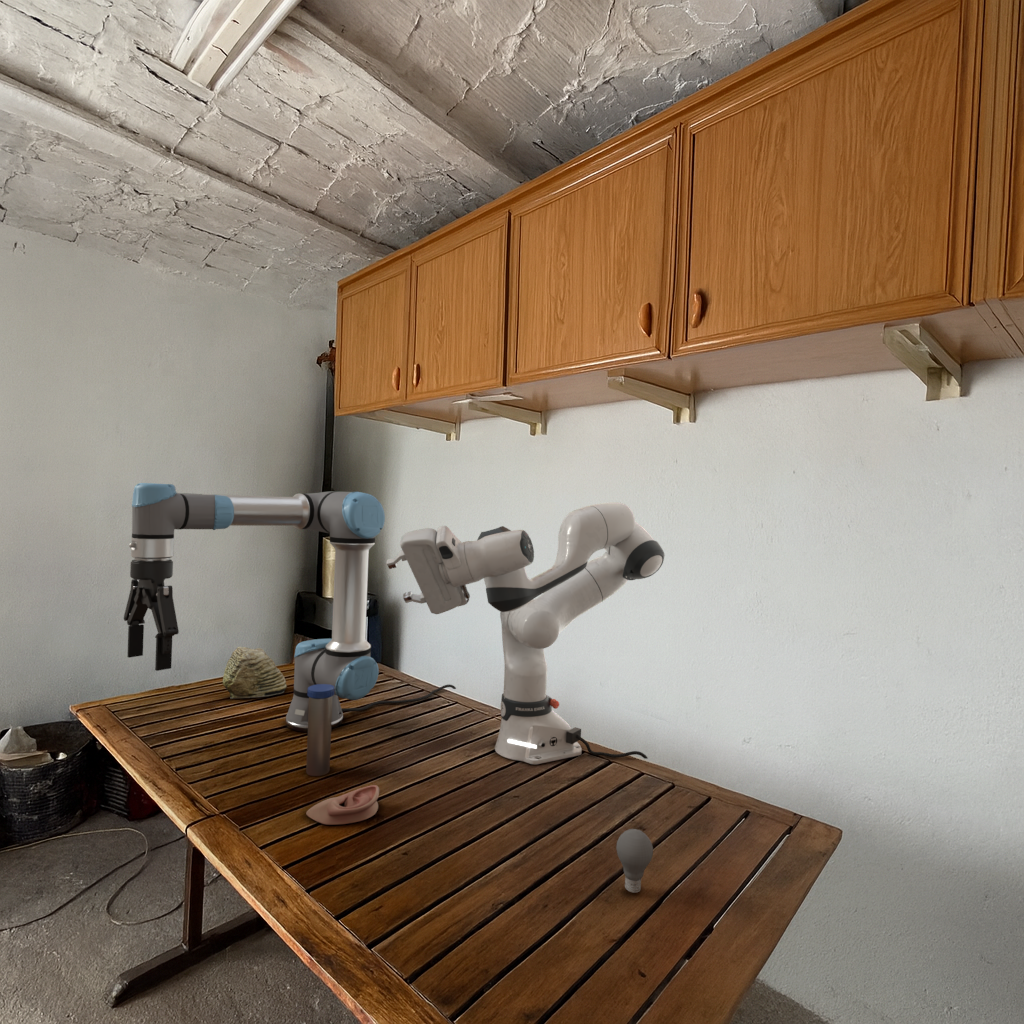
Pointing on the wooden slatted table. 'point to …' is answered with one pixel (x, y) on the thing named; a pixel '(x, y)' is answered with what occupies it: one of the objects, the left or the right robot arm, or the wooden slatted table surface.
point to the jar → (319, 736)
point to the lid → (320, 691)
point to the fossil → (252, 674)
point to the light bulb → (634, 857)
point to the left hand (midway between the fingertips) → (148, 662)
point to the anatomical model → (347, 807)
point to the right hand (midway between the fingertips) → (396, 581)
